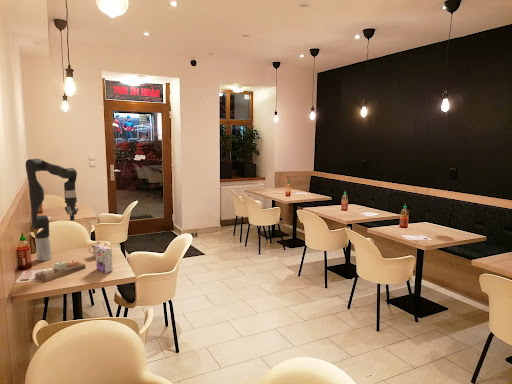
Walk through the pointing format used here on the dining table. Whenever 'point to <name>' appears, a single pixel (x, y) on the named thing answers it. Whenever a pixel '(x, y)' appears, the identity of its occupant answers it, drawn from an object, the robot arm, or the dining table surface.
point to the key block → (59, 272)
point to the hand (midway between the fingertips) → (72, 220)
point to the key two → (60, 266)
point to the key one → (47, 271)
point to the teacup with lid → (94, 247)
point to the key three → (73, 263)
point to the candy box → (104, 258)
